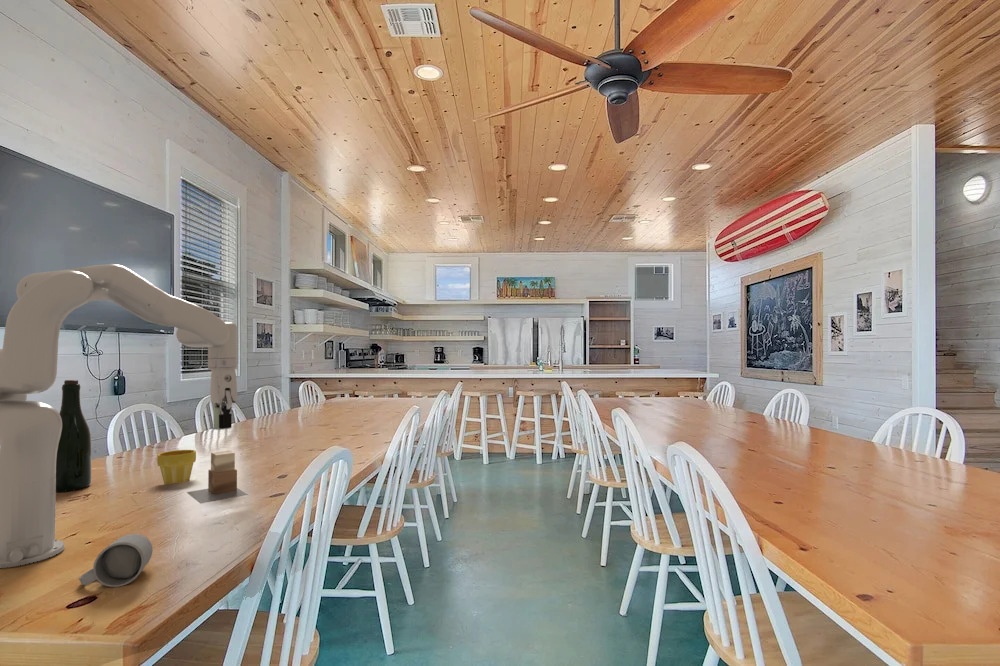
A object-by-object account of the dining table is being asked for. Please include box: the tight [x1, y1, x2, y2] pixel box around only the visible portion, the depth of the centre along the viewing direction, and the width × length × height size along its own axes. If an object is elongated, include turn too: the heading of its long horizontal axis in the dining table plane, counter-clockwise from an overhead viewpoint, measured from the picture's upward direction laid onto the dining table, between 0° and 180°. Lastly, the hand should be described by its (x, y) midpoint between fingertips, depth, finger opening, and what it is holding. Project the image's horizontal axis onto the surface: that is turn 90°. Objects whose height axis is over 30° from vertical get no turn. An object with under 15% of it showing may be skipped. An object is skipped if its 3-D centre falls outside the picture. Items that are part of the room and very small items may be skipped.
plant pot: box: [156, 449, 197, 486], centre depth 165 cm, size 10×10×10 cm
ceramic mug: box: [78, 533, 154, 588], centre depth 97 cm, size 11×8×8 cm
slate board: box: [186, 487, 248, 504], centre depth 150 cm, size 15×12×1 cm
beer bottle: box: [56, 379, 92, 493], centre depth 161 cm, size 10×10×33 cm
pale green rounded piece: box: [213, 407, 233, 431], centre depth 153 cm, size 5×5×6 cm
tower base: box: [207, 468, 238, 495], centre depth 153 cm, size 6×6×6 cm
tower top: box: [210, 449, 236, 473], centre depth 153 cm, size 5×5×5 cm
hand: (222, 426), depth 153 cm, fingers closed on pale green rounded piece, 4 cm apart
